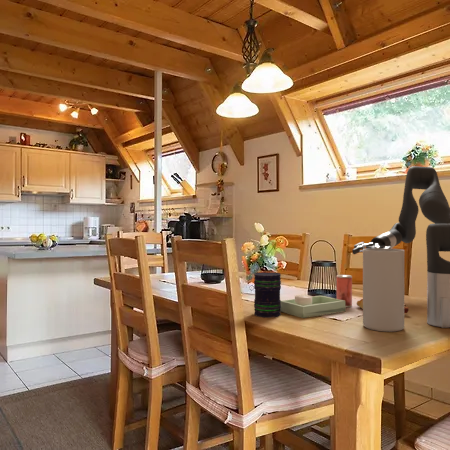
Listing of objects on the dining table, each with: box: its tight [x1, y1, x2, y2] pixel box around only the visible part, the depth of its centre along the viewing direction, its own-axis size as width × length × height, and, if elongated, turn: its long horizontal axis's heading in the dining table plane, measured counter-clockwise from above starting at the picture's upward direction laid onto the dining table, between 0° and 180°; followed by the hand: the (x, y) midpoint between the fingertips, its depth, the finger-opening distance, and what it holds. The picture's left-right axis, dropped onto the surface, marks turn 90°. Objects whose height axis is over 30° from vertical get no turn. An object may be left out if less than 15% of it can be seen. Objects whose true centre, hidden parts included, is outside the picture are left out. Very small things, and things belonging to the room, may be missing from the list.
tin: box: [336, 274, 353, 308], centre depth 174 cm, size 6×6×12 cm
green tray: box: [280, 295, 346, 319], centre depth 163 cm, size 21×13×4 cm, turn 121°
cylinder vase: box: [362, 248, 405, 333], centre depth 139 cm, size 12×12×25 cm
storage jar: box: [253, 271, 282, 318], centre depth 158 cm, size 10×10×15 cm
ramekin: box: [294, 294, 313, 306], centre depth 161 cm, size 6×6×4 cm
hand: (362, 253), depth 178 cm, fingers open, 8 cm apart
